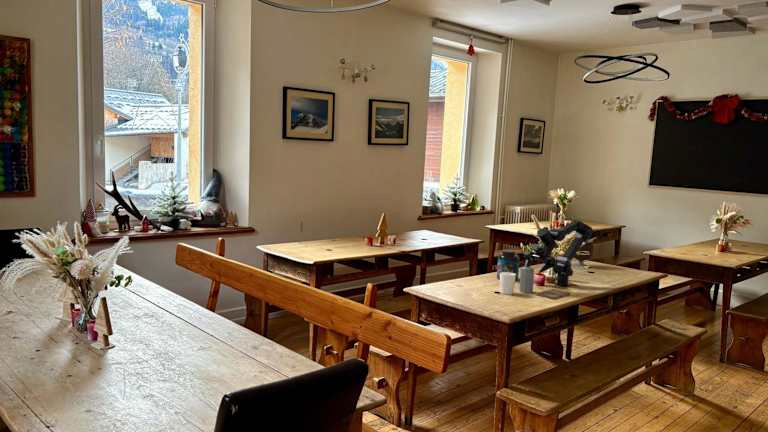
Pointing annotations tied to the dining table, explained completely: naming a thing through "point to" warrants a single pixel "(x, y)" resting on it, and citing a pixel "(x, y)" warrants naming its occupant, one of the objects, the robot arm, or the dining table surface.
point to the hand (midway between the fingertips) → (531, 271)
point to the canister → (526, 279)
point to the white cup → (507, 283)
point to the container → (508, 263)
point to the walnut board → (552, 294)
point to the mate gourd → (581, 258)
